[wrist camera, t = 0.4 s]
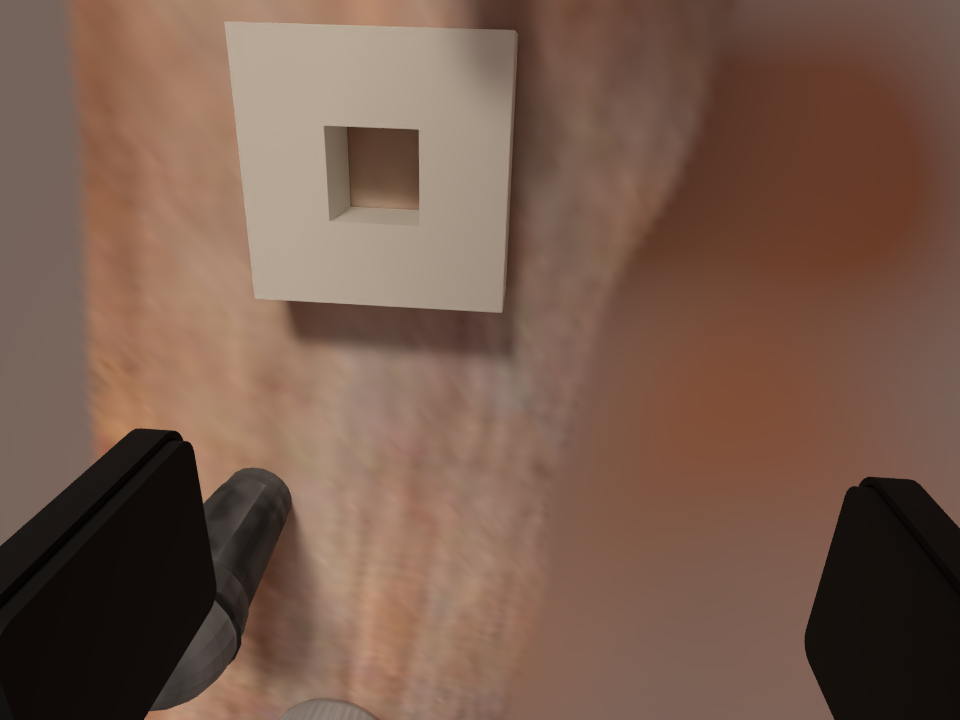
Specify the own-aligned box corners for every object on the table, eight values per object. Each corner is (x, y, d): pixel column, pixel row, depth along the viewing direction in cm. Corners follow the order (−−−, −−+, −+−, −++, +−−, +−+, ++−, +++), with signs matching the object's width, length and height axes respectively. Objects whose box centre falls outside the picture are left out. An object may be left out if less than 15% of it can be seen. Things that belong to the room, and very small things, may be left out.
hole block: (259, 27, 34) (224, 21, 30) (518, 34, 33) (515, 30, 29) (282, 276, 39) (254, 298, 35) (505, 289, 38) (502, 312, 34)
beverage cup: (329, 526, 46) (186, 831, 27) (237, 549, 47) (43, 853, 29) (282, 437, 43) (91, 708, 25) (186, 465, 45) (-60, 739, 26)
